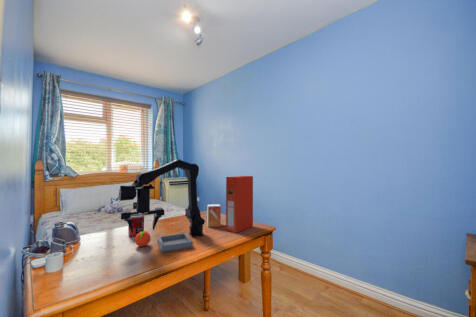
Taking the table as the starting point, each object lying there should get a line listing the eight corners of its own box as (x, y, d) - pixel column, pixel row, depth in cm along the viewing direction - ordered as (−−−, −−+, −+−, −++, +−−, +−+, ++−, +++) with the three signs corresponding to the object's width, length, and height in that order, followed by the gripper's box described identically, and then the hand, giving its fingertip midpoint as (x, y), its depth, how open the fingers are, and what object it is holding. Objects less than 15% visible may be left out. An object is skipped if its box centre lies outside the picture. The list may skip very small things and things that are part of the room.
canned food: (137, 237, 113) (138, 217, 113) (124, 236, 114) (125, 216, 115) (146, 233, 120) (147, 213, 121) (134, 232, 122) (134, 213, 122)
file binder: (225, 230, 126) (226, 176, 127) (242, 224, 140) (243, 175, 141) (236, 233, 121) (236, 177, 122) (252, 226, 135) (253, 176, 136)
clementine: (148, 249, 98) (148, 233, 98) (132, 250, 97) (132, 234, 97) (151, 242, 106) (152, 228, 106) (136, 243, 105) (137, 229, 105)
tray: (185, 238, 113) (185, 232, 113) (192, 247, 101) (192, 241, 101) (157, 242, 107) (157, 236, 107) (161, 253, 94) (161, 246, 94)
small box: (207, 227, 133) (208, 206, 133) (207, 224, 139) (207, 204, 139) (220, 226, 134) (221, 205, 135) (219, 223, 141) (219, 203, 141)
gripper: (161, 195, 113) (161, 224, 113) (121, 197, 105) (121, 229, 105) (164, 198, 104) (164, 230, 103) (121, 201, 95) (120, 236, 95)
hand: (143, 231), depth 102 cm, fingers open, 9 cm apart
